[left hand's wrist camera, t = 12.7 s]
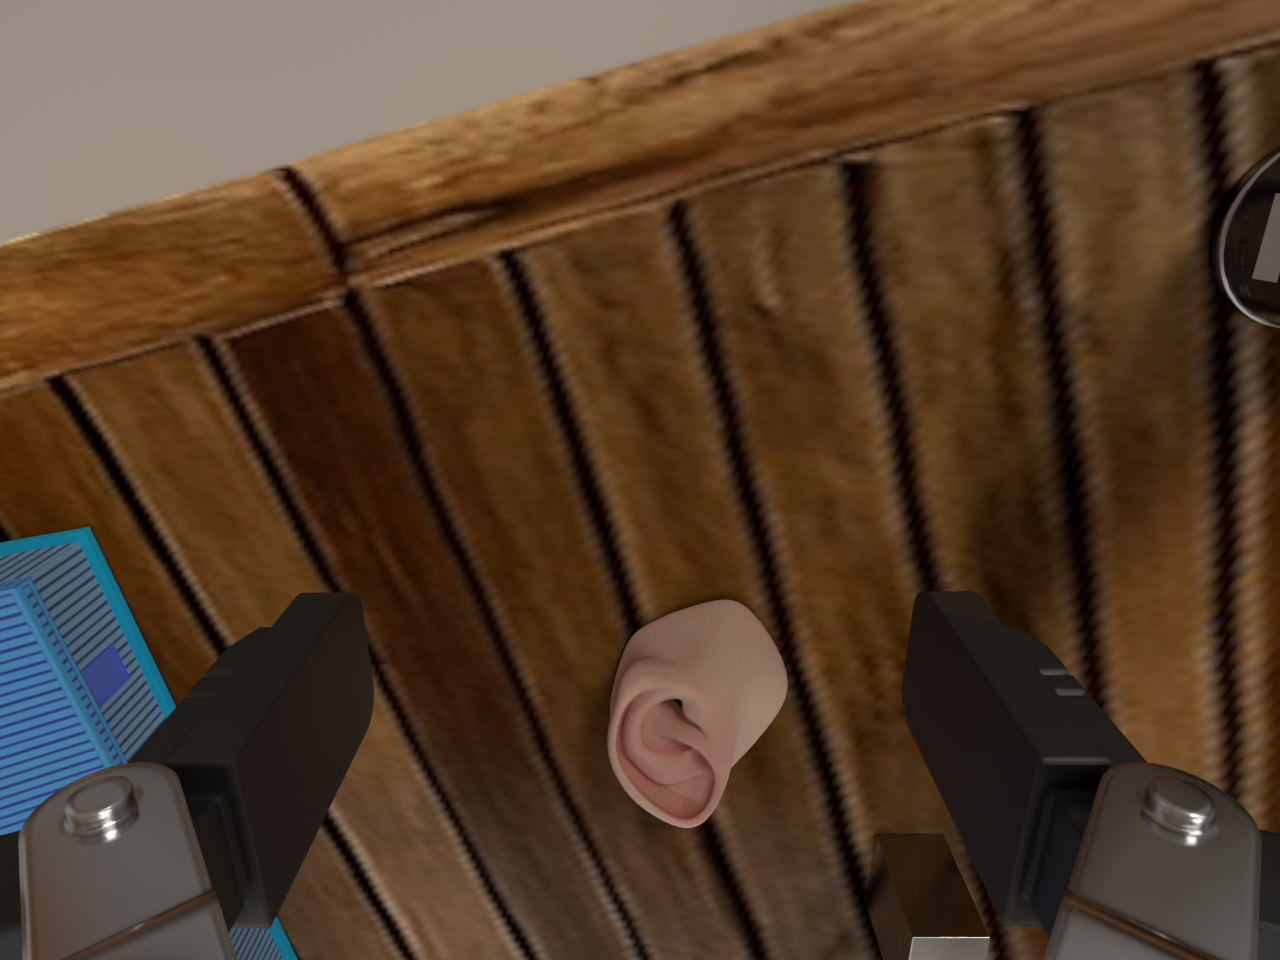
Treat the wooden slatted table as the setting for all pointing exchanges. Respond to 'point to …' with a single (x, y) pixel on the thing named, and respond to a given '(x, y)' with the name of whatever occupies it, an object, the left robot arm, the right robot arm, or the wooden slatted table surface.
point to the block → (922, 902)
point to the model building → (77, 685)
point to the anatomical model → (691, 707)
